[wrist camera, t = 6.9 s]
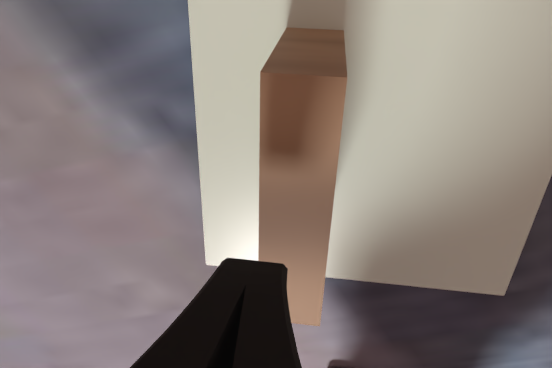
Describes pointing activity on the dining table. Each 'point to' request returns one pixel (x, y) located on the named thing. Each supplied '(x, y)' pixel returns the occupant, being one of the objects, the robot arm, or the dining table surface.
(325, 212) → the walnut slab
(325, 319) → the dining table surface
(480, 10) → the mat
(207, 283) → the robot arm
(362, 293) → the dining table surface
